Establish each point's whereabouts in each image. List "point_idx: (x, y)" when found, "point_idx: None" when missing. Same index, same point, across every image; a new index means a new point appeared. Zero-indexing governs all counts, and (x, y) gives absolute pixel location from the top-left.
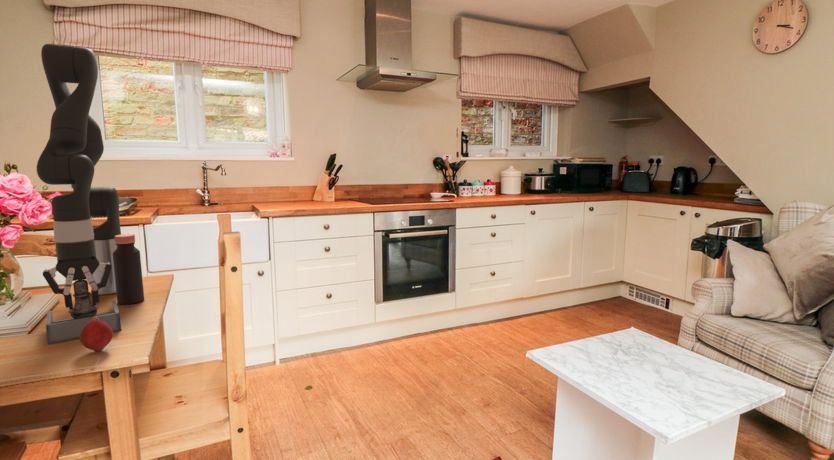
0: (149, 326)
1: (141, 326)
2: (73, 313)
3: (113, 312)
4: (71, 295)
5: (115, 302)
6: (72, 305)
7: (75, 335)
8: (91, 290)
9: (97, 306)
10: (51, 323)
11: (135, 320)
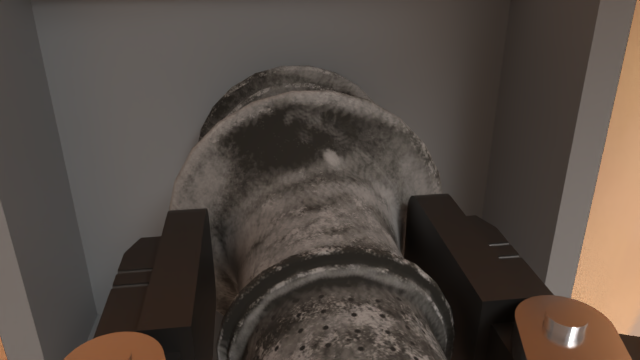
0: (632, 301)
1: (599, 278)
2: (221, 312)
3: (535, 49)
4: (199, 350)
5: (629, 12)
6: (213, 326)
7: None
8: (482, 345)
9: None
10: (40, 258)
11: (616, 127)
